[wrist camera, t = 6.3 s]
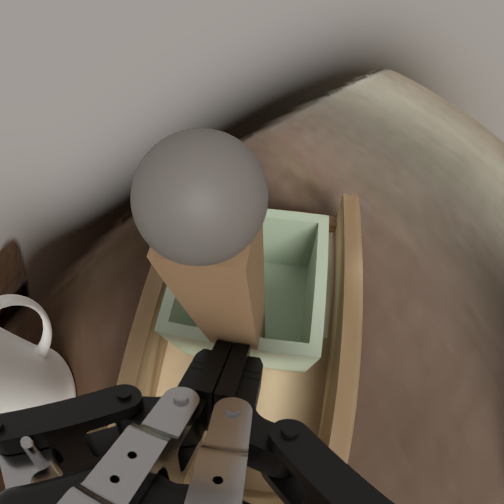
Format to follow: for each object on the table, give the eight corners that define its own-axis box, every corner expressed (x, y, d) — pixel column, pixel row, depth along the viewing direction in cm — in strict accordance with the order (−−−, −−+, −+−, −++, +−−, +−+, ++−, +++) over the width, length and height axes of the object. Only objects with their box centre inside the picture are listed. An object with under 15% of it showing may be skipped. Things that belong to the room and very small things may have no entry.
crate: (315, 265, 21) (365, 43, 7) (304, 377, 17) (439, 240, 3) (210, 252, 22) (150, 41, 8) (184, 358, 18) (4, 201, 4)
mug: (68, 305, 22) (-22, 232, 12) (119, 377, 19) (4, 331, 9) (4, 381, 18) (-89, 342, 7) (43, 455, 15) (-65, 446, 4)
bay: (345, 232, 24) (358, 195, 20) (318, 504, 13) (332, 528, 9) (196, 215, 26) (184, 179, 22) (132, 468, 15) (99, 478, 11)
